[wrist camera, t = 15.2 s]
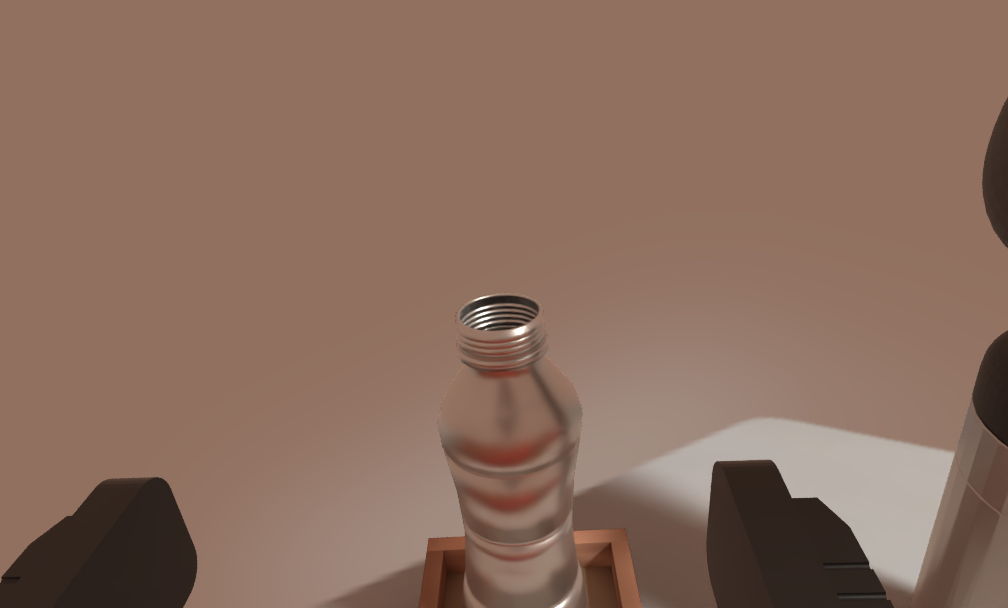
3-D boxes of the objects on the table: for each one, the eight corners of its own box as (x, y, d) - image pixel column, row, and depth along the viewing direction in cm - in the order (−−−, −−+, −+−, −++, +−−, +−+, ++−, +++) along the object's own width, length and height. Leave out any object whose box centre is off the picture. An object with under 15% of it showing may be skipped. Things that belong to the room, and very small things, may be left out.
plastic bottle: (455, 601, 39) (406, 295, 30) (564, 569, 40) (548, 268, 31) (483, 705, 33) (433, 367, 24) (608, 663, 35) (604, 330, 26)
